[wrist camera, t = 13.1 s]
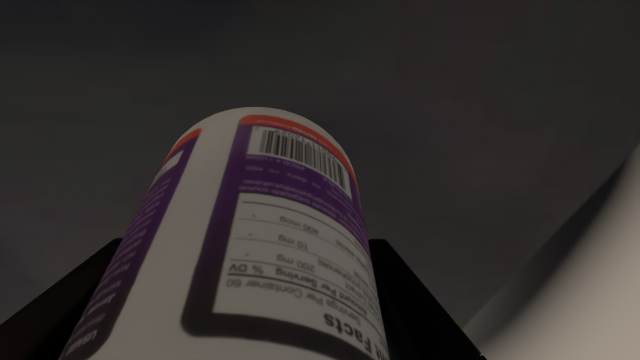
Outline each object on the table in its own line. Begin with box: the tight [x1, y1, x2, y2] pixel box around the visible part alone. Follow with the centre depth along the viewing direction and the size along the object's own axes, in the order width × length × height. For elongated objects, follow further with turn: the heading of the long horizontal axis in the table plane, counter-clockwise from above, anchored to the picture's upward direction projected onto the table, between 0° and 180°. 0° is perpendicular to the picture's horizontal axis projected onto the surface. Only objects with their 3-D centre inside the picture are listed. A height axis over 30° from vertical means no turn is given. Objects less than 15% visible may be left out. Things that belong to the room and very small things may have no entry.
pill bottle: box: [58, 107, 390, 360], centre depth 7 cm, size 5×5×10 cm
